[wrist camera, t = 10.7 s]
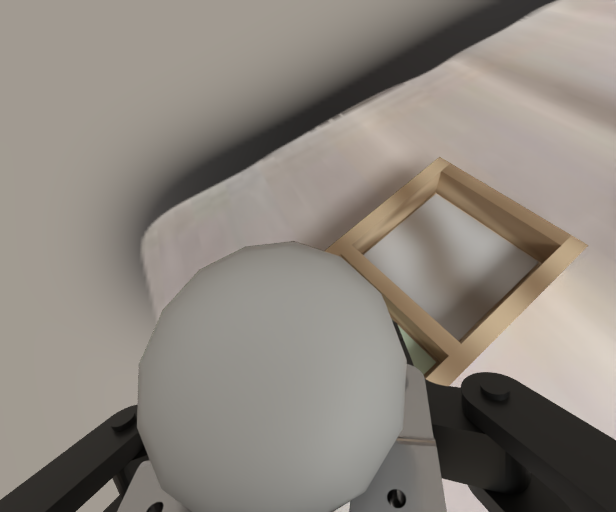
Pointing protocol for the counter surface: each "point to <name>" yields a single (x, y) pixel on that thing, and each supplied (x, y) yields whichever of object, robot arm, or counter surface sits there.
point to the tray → (454, 264)
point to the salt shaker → (271, 384)
